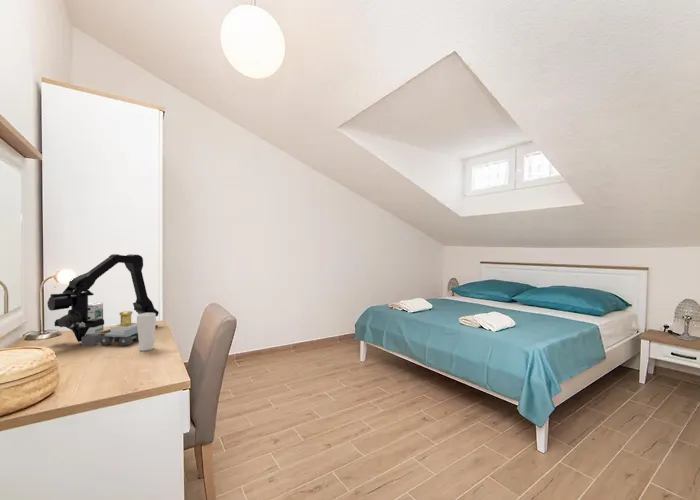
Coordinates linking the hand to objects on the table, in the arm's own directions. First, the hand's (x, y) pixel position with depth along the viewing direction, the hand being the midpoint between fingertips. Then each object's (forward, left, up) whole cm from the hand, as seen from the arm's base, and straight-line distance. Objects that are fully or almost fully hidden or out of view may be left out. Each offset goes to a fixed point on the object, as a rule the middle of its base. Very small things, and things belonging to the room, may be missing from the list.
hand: (79, 341), depth 143 cm
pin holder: (-13, +3, -1) cm, 13 cm away
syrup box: (-18, -10, -1) cm, 21 cm away
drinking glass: (+4, +34, -1) cm, 34 cm away
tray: (-5, +18, +4) cm, 19 cm away
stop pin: (-5, +18, +5) cm, 19 cm away
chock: (-1, +5, -1) cm, 5 cm away
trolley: (-4, +18, -1) cm, 18 cm away
